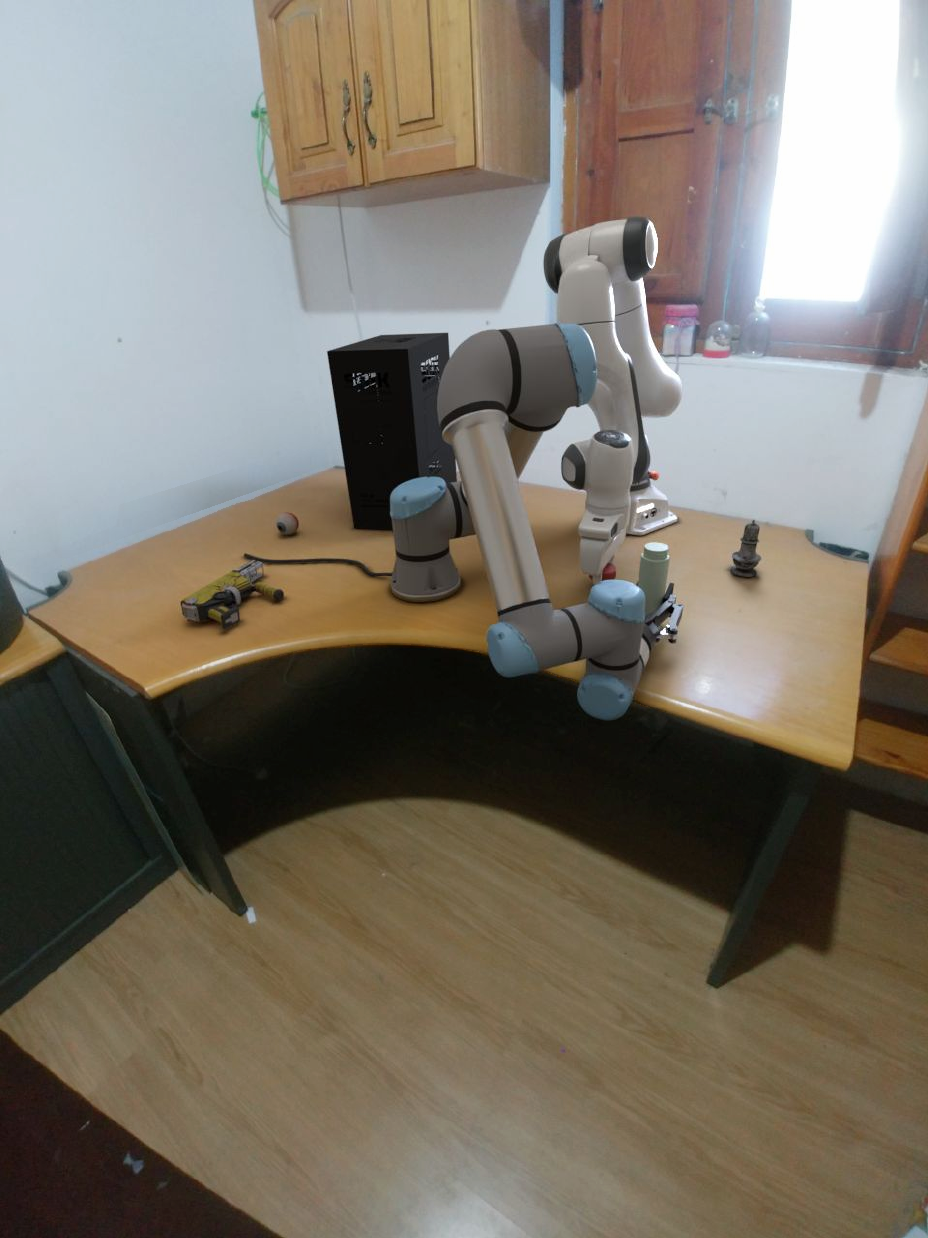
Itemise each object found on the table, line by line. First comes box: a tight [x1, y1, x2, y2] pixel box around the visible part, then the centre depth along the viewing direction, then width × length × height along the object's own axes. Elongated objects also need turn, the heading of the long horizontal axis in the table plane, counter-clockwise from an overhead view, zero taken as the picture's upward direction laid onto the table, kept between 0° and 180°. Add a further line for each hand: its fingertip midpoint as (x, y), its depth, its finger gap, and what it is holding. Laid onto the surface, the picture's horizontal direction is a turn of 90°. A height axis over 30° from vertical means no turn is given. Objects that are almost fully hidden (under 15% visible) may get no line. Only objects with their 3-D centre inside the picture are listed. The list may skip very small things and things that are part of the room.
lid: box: [588, 563, 617, 581], centre depth 128 cm, size 6×6×2 cm
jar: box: [637, 541, 671, 630], centre depth 110 cm, size 5×5×17 cm
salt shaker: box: [730, 519, 762, 578], centre depth 129 cm, size 6×6×12 cm
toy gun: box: [179, 559, 285, 630], centre depth 130 cm, size 5×24×15 cm
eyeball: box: [275, 511, 300, 536], centre depth 163 cm, size 6×6×6 cm
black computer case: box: [326, 332, 458, 531], centre depth 169 cm, size 38×20×45 cm, turn 167°
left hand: (655, 587), depth 115 cm, fingers closed on jar, 5 cm apart
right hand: (602, 577), depth 128 cm, fingers closed on lid, 5 cm apart
